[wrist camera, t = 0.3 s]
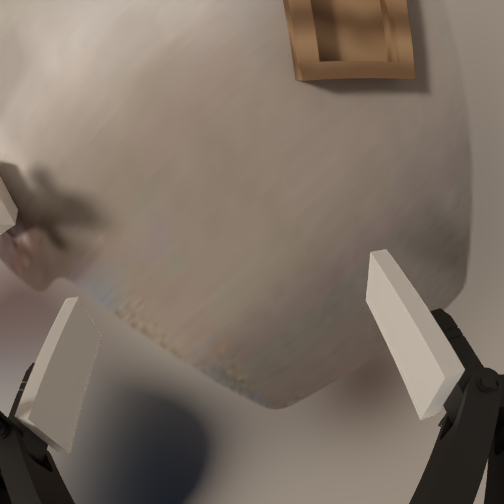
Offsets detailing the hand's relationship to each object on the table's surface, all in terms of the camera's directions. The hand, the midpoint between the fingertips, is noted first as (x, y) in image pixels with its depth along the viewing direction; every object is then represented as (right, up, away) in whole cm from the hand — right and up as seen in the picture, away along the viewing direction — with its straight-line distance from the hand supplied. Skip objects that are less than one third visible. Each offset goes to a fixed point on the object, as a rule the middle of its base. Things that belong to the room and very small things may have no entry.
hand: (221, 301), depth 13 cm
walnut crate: (+12, +29, +15) cm, 35 cm away
